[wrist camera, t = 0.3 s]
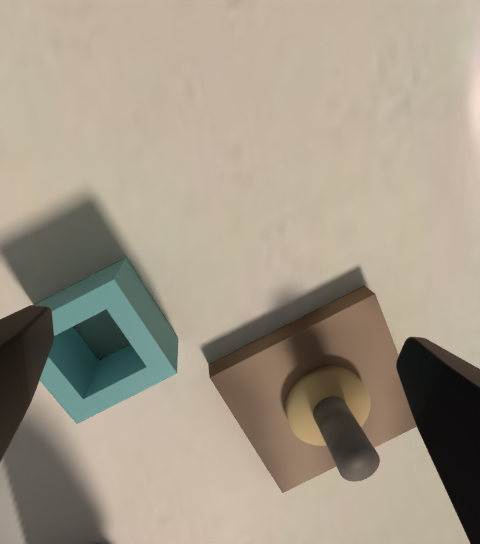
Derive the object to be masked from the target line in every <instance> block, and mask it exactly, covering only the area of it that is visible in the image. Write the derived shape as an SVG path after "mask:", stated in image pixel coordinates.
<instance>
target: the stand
mask: <svg viewBox="0 0 480 544" xmlns="http://www.w3.org/2000/svg"><path fill="white" fill-rule="evenodd" d="M398 357H399V356H398V353H397V350H396V348H395V345H394V342H393V340H392V337H391V334H390V332H389V329H388V327H387V324H386V321H385V319H384V316H383V313H382V311H381V308H380V306H379V303H378V300H377V298H376V295H375V294H374V293H373V292H372V291H371V290H369V289H368V288H367V287H365V286H363V287H361V288H359V289H357V290H355V291H353V292H351V293H349V294H347V295H345V296H343V297H341V298H339V299H337V300H336V301H334V302H332V303H330V304H328V305H326V306H324V307H322V308H320V309H318V310H316V311H314V312H312V313H310V314H308V315H306V316H304V317H302V318H300V319H298V320H296V321H294V322H292V323H290V324H288V325H286V326H284V327H282V328H280V329H278V330H276V331H274V332H272V333H270V334H268V335H266V336H264V337H263V338H261V339H259V340H257V341H255V342H253V343H251V344H249V345H247V346H245V347H243V348H241V349H239V350H237V351H235V352H233V353H231V354H229V355H227V356H225V357H223V358H221V359H219V360H217V361H215V362H213V363H211V364H209V375H210V379H211V380H212V382H213V383H214V385H215V387H216V388H217V390H218V391H219V393H220V395H221V396H222V398H223V399H224V401H225V402H226V404H227V406H228V407H229V409H230V410H231V412H232V414H233V415H234V417H235V418H236V420H237V421H238V423H239V425H240V426H241V428H242V429H243V431H244V433H245V434H246V436H247V437H248V439H249V441H250V442H251V444H252V445H253V447H254V448H255V450H256V452H257V453H258V455H259V456H260V458H261V460H262V461H263V463H264V464H265V466H266V467H267V469H268V471H269V472H270V474H271V475H272V477H273V479H274V480H275V482H276V483H277V485H278V487H279V488H280V490H281V491H282V493H284V492H286V491H288V490H290V489H292V488H294V487H296V486H298V485H300V484H302V483H304V482H306V481H308V480H310V479H312V478H314V477H316V476H318V475H320V474H322V473H324V472H326V471H328V470H330V469H332V468H334V467H336V466H337V468H338V470H339V472H340V474H341V476H342V477H343V478H344V479H346V480H348V481H361V480H364V479H366V478H368V477H370V476H371V475H372V474H373V473H374V472H375V471H376V470H377V468H378V466H379V462H380V459H379V455H378V454H377V452H376V450H375V449H374V447H376V446H378V445H380V444H382V443H384V442H386V441H388V440H390V439H392V438H394V437H397V436H399V435H401V434H403V433H405V432H407V431H409V430H411V429H413V428H415V427H417V426H416V423H415V421H414V418H413V415H412V413H411V410H410V407H409V404H408V401H407V398H406V395H405V392H404V390H403V387H402V384H401V381H400V378H399V375H398V372H397V368H396V362H397V359H398Z"/></svg>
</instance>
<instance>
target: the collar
mask: <svg viewBox="0 0 480 544" xmlns="http://www.w3.org/2000/svg"><path fill="white" fill-rule="evenodd" d="M35 305H37V306H48V307H50V308H51V311H52V318H53V330H54V341H53V345H52V348H51V351H50V353H49V356H48V359H47V361H46V364H45V367H44V369H43V372H42V375H41V377H40V381H41V382H42V384H43V385H44V386H45V387H46V388H47V390H48V391H49V392H50V393H51V394H52V395H53V397H54V398H55V399H56V400H57V401H58V403H59V404H60V405H61V406H62V407H63V408H64V410H65V411H66V412H67V413H68V414H69V415H70V417H71V418H72V419H73V420H74V421H75V423H76V424H78V423H80V422H82V421H84V420H86V419H88V418H90V417H92V416H94V415H96V414H98V413H100V412H102V411H103V410H105V409H107V408H109V407H111V406H113V405H115V404H117V403H119V402H121V401H123V400H125V399H127V398H129V397H131V396H133V395H135V394H137V393H139V392H141V391H143V390H145V389H147V388H149V387H151V386H153V385H155V384H157V383H159V382H161V381H163V380H165V379H167V378H169V377H170V376H172V375H174V374H176V373H177V357H178V338H177V336H176V335H175V333H174V331H173V330H172V328H171V327H170V325H169V324H168V322H167V320H166V319H165V317H164V316H163V314H162V313H161V311H160V309H159V308H158V306H157V305H156V303H155V302H154V300H153V299H152V297H151V295H150V294H149V292H148V291H147V289H146V288H145V286H144V284H143V283H142V281H141V280H140V278H139V277H138V275H137V273H136V272H135V270H134V269H133V267H132V266H131V264H130V263H129V261H128V259H127V258H124V259H122V260H120V261H118V262H116V263H114V264H112V265H110V266H109V267H107V268H105V269H103V270H101V271H99V272H97V273H95V274H93V275H91V276H89V277H87V278H85V279H83V280H81V281H80V282H78V283H76V284H74V285H72V286H70V287H68V288H66V289H64V290H62V291H60V292H58V293H56V294H54V295H52V296H51V297H49V298H47V299H45V300H43V301H41V302H39V303H37V304H35ZM106 309H107V311H108V312H109V314H110V315H111V317H112V318H113V319H114V321H115V322H116V324H117V325H118V327H119V328H120V329H121V331H122V332H123V334H124V335H125V337H126V338H127V339H128V341H129V342H130V345H128V346H127V347H125V348H123V349H121V350H119V351H117V352H115V353H113V354H111V355H109V356H107V357H105V358H103V359H101V360H98V358H97V357H96V356H95V354H94V353H93V352H92V350H91V349H90V348H89V346H88V345H87V344H86V342H85V341H84V340H83V338H82V337H81V336H80V334H79V333H78V332H77V330H76V329H75V328H74V327H73V326H75V325H77V324H79V323H81V322H82V321H84V320H86V319H88V318H90V317H92V316H94V315H96V314H98V313H100V312H102V311H104V310H106Z"/></svg>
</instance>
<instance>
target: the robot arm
mask: <svg viewBox="0 0 480 544" xmlns="http://www.w3.org/2000/svg"><path fill="white" fill-rule="evenodd" d="M53 341H54V330H53V318H52V311H51V308H50V307H48V306H37V305H31V306H28V307H26V308H24V309H22V310H19V311H17V312H15V313H13V314H11V315H9V316H7V317H4V318H2V319H0V461H1V459H2V458H3V456H4V454H5V452H6V450H7V448H8V446H9V444H10V442H11V440H12V438H13V436H14V434H15V433H16V431H17V429H18V427H19V425H20V423H21V421H22V419H23V417H24V415H25V413H26V411H27V409H28V407H29V405H30V403H31V401H32V398H33V396H34V393H35V391H36V388H37V385H38V383H39V380H40V377H41V375H42V372H43V369H44V367H45V364H46V361H47V359H48V356H49V353H50V351H51V348H52V345H53ZM396 368H397V372H398V375H399V378H400V381H401V384H402V387H403V390H404V392H405V395H406V398H407V401H408V404H409V407H410V410H411V413H412V415H413V418H414V421H415V423H416V426H417V428H418V430H419V432H420V435H421V437H422V439H423V441H424V443H425V445H426V448H427V450H428V452H429V454H430V456H431V459H432V461H433V463H434V465H435V467H436V469H437V472H438V474H439V476H440V478H441V480H442V483H443V485H444V487H445V489H446V491H447V493H448V496H449V498H450V500H451V502H452V504H453V507H454V509H455V511H456V513H457V515H458V517H459V520H460V522H461V524H462V526H463V528H464V531H465V533H466V535H467V537H468V539H469V541H470V544H480V369H479V368H477V367H475V366H473V365H472V364H470V363H468V362H466V361H464V360H463V359H461V358H459V357H457V356H456V355H454V354H452V353H450V352H448V351H447V350H445V349H443V348H441V347H440V346H438V345H436V344H434V343H433V342H431V341H429V340H427V339H425V338H420V337H409V338H407V339H406V341H405V343H404V345H403V347H402V350H401V352H400V354H399V357H398V359H397V362H396Z"/></svg>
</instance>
